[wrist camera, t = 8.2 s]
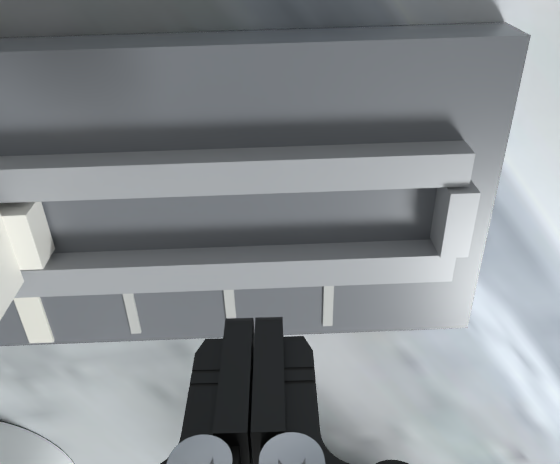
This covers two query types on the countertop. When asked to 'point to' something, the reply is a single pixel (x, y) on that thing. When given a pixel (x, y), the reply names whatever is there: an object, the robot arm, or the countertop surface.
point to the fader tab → (21, 246)
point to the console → (255, 177)
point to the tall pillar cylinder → (28, 447)
